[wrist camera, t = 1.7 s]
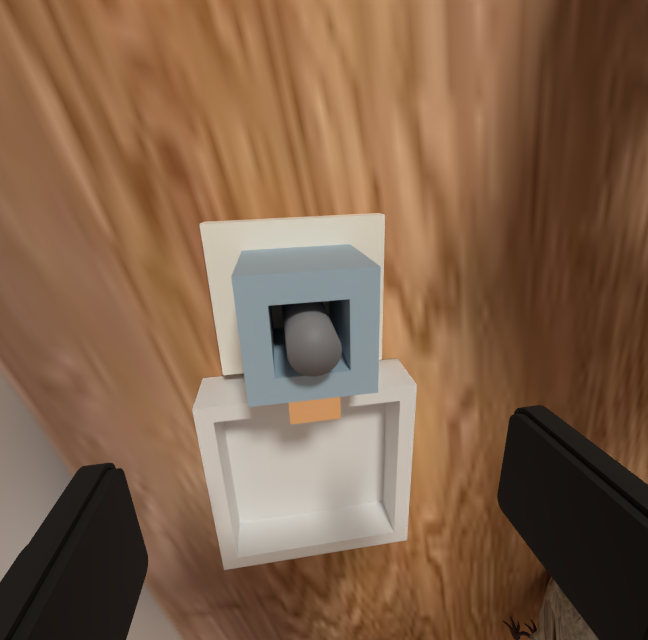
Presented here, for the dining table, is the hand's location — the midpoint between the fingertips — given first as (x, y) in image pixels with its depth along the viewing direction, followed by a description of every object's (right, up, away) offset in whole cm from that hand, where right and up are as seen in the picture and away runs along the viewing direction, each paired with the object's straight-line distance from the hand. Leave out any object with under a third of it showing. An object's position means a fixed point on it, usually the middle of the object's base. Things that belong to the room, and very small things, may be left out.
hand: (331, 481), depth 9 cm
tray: (-1, -5, +18) cm, 18 cm away
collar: (-2, +5, +12) cm, 13 cm away
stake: (-2, +6, +13) cm, 15 cm away
